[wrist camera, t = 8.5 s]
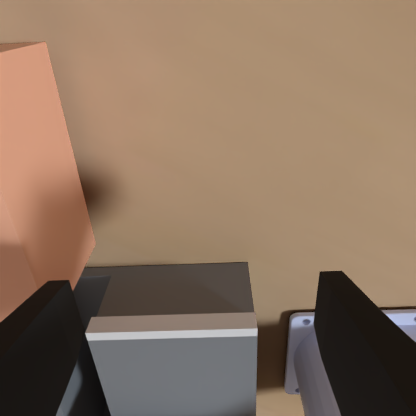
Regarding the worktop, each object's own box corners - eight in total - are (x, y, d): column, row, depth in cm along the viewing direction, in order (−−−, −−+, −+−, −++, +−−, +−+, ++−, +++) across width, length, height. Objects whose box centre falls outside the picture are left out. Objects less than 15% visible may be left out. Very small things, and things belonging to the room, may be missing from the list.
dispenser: (247, 255, 21) (269, 414, 13) (247, 397, 28) (261, 562, 20) (-60, 266, 22) (-222, 424, 14) (12, 402, 29) (-69, 563, 21)
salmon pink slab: (45, 42, 15) (-47, 63, 10) (95, 243, 20) (53, 331, 14) (-3, 44, 15) (-121, 67, 10) (59, 245, 20) (4, 332, 15)
